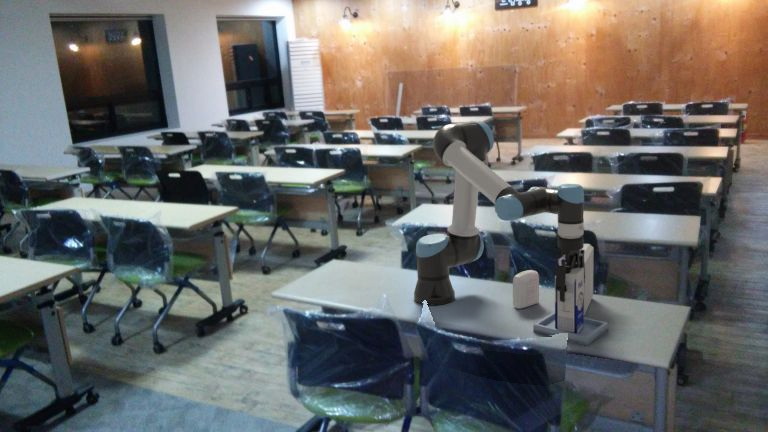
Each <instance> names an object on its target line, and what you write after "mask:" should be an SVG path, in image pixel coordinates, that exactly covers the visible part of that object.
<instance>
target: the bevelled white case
mask: <svg viewBox="0 0 768 432" xmlns="http://www.w3.org/2000/svg"><path fill="white" fill-rule="evenodd" d="M582 249H583V250H584V251H585V252H584V265H585V279H584V280H585V283H584V316H585V315H586V314H587V313H586V312H587V310H588V308H589V306H590V303H591V301H592V299H593V297H594V256H595V255H594V253H595V252H594V251H595V250H594V249H595V248H594V246H592V245H591V244H590V243H584V247H583V248H582ZM567 267H570V266H567Z"/></svg>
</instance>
